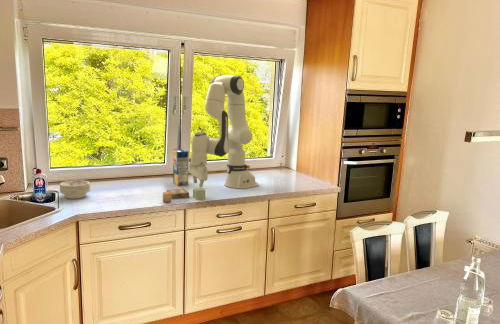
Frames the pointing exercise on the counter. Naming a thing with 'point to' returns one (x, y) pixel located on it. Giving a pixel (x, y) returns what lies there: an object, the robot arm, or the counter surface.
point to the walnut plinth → (178, 193)
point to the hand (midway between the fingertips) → (197, 185)
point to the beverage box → (180, 167)
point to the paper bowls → (75, 188)
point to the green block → (199, 193)
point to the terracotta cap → (166, 197)
